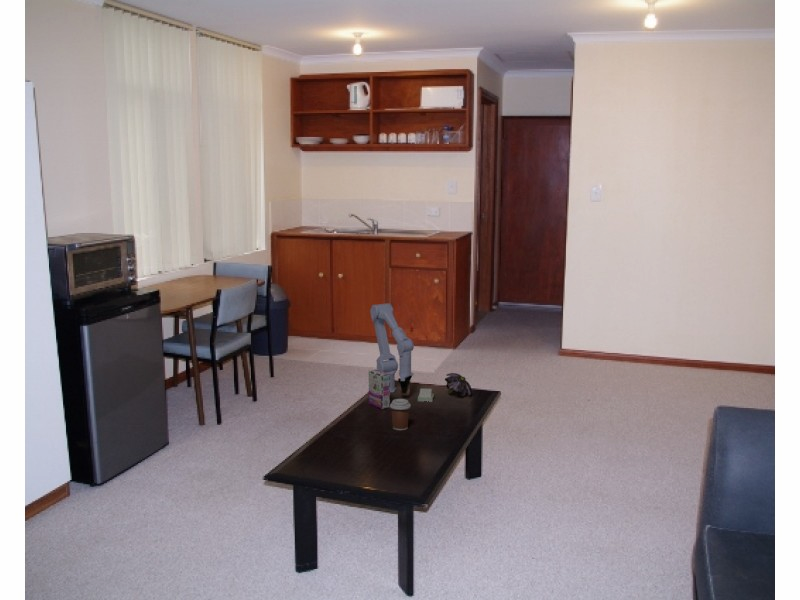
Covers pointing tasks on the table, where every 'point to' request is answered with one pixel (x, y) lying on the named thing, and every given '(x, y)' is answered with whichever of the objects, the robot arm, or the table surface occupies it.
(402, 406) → the coffee cup
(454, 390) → the decorative flower
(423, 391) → the off-white top block
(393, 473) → the table surface
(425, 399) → the sage base block
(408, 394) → the terracotta cylinder
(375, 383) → the candy bar box
